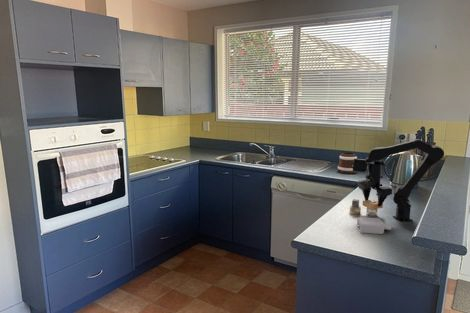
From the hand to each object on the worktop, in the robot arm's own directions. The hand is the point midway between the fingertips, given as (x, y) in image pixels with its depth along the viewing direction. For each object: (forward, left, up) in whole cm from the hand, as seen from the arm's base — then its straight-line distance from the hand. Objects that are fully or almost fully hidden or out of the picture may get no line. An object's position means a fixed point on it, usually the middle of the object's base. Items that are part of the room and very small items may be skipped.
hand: (372, 204), depth 169 cm
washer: (0, 0, -1) cm, 1 cm away
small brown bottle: (+4, +7, -6) cm, 10 cm away
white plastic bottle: (-19, +8, -6) cm, 21 cm away
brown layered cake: (+99, -32, -6) cm, 104 cm away
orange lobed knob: (0, 0, -6) cm, 6 cm away
